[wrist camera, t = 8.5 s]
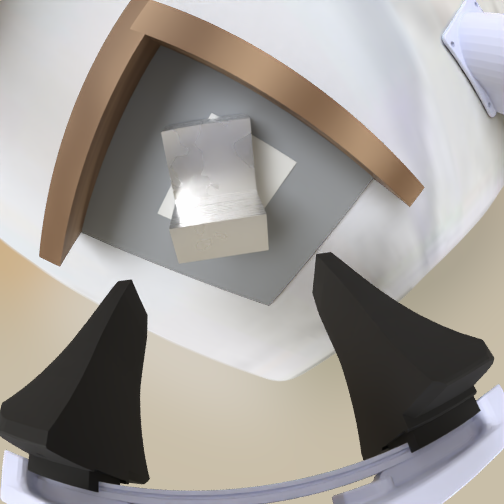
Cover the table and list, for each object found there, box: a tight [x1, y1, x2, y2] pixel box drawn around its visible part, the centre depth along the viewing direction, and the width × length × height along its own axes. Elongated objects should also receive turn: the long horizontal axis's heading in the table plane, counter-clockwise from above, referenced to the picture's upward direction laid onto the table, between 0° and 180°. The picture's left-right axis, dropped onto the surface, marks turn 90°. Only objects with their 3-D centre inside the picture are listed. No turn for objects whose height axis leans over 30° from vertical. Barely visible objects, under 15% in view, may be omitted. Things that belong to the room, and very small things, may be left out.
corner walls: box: [39, 0, 425, 266], centre depth 15 cm, size 18×15×4 cm
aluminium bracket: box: [161, 114, 269, 264], centre depth 14 cm, size 6×4×5 cm
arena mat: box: [81, 45, 373, 306], centre depth 17 cm, size 18×15×1 cm
